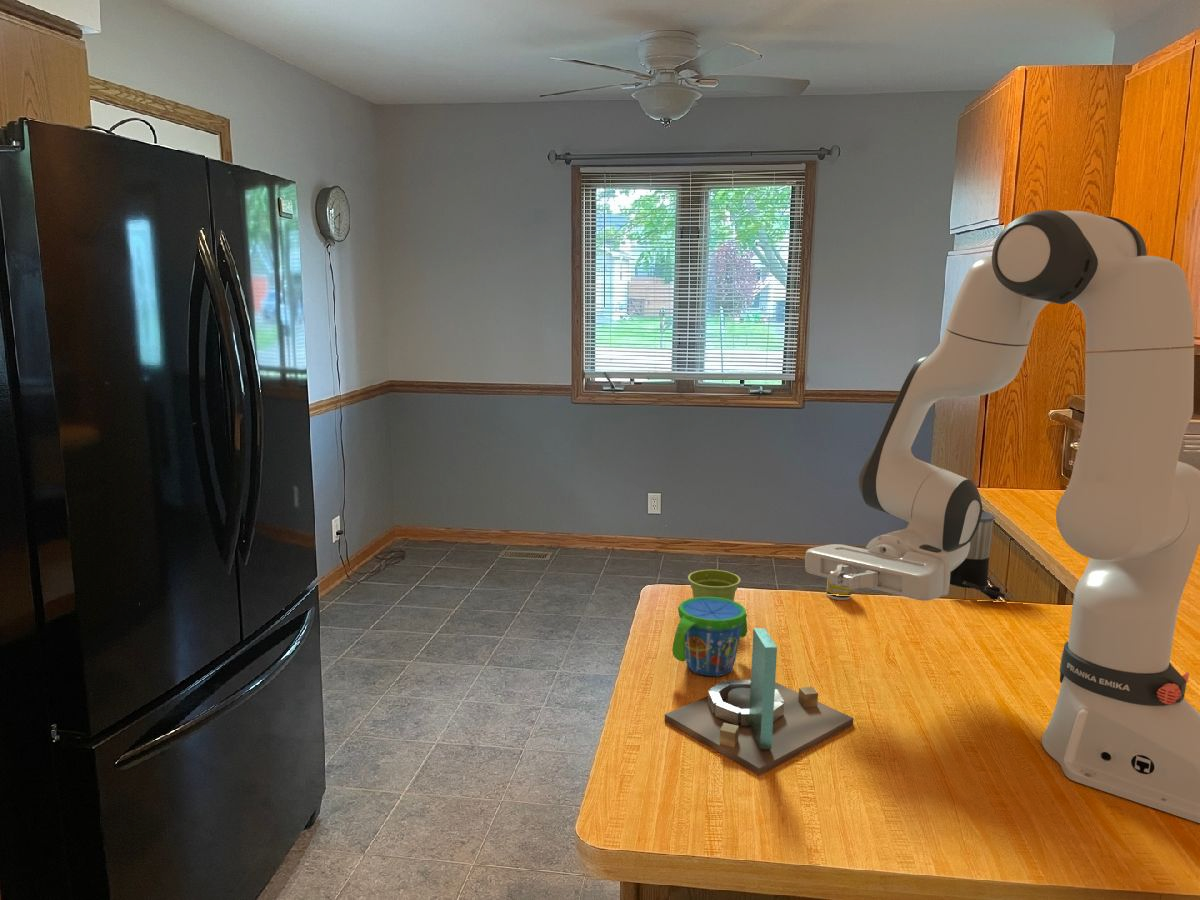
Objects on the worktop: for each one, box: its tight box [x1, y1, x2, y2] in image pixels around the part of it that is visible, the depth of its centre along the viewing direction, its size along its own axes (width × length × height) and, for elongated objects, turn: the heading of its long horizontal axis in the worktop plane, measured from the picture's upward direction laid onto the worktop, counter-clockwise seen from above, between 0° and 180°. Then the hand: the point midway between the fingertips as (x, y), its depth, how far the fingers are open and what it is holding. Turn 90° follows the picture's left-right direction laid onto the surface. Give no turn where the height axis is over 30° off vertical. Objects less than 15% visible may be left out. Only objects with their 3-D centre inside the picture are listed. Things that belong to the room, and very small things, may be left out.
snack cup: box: [671, 597, 748, 677], centre depth 132 cm, size 16×10×10 cm
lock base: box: [664, 677, 854, 776], centre depth 115 cm, size 17×20×3 cm
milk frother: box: [950, 510, 1006, 601], centre depth 168 cm, size 14×16×15 cm
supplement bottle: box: [826, 578, 852, 601], centre depth 164 cm, size 5×5×8 cm
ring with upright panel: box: [707, 627, 784, 749], centre depth 114 cm, size 13×13×14 cm
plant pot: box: [687, 569, 741, 601], centre depth 150 cm, size 9×9×9 cm
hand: (840, 581), depth 116 cm, fingers closed
